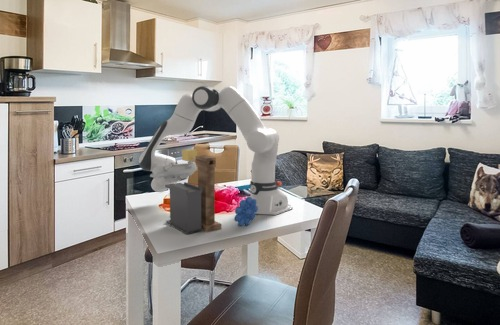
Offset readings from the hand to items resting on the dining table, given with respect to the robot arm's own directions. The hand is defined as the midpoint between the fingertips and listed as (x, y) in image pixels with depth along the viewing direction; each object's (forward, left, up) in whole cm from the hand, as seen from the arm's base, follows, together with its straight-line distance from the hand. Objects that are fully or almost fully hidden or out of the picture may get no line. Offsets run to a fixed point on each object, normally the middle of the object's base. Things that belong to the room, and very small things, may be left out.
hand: (181, 163), depth 161 cm
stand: (0, +20, -23) cm, 31 cm away
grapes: (-14, +28, -24) cm, 39 cm away
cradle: (+8, +15, -23) cm, 29 cm away
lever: (-49, -17, -24) cm, 57 cm away
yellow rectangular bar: (0, +13, +2) cm, 14 cm away
